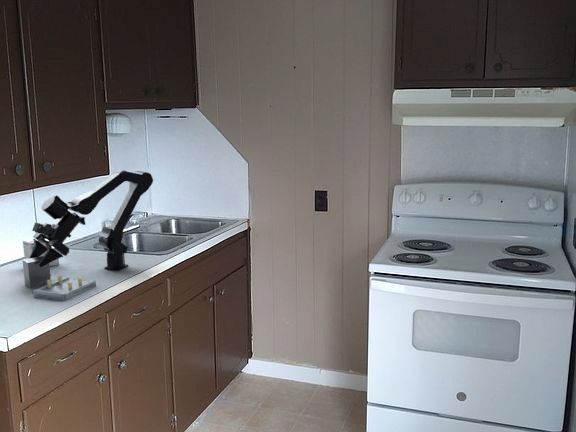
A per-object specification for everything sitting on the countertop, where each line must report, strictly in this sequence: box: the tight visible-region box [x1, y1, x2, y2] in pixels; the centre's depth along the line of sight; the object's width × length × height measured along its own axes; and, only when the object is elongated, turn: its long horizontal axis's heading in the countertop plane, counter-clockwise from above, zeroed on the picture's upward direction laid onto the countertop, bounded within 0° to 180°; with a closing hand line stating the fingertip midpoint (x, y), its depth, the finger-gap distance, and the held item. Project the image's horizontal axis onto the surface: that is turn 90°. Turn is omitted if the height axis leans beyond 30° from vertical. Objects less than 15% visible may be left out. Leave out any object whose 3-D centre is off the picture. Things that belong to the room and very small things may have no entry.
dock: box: [32, 274, 97, 302], centre depth 193 cm, size 16×12×4 cm
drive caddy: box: [22, 256, 52, 289], centre depth 200 cm, size 7×5×9 cm
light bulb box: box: [22, 237, 60, 267], centre depth 221 cm, size 11×7×11 cm, turn 141°
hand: (34, 263), depth 199 cm, fingers open, 9 cm apart
